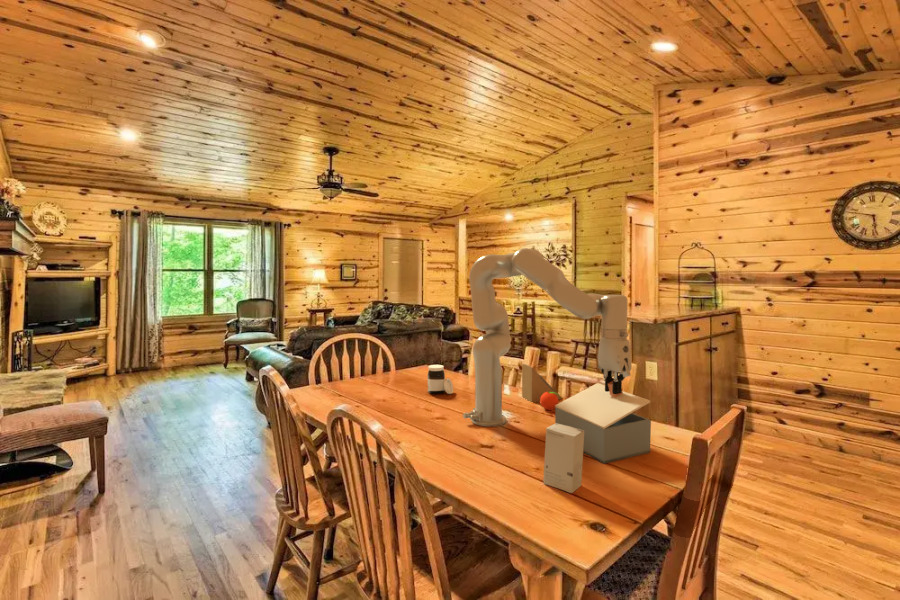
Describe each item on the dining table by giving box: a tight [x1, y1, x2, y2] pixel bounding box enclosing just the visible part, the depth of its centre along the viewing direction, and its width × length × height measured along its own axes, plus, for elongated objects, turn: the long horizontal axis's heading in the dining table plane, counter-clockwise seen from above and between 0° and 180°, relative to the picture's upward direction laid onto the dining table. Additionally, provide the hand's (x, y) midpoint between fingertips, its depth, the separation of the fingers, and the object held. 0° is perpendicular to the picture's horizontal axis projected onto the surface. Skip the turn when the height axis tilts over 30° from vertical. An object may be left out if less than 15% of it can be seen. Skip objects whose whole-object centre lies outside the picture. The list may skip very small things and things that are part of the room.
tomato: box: [539, 392, 559, 411], centre depth 176 cm, size 8×7×7 cm
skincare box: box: [543, 423, 584, 494], centre depth 116 cm, size 8×6×15 cm
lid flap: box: [555, 380, 651, 429], centre depth 140 cm, size 18×22×5 cm
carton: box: [554, 407, 652, 465], centre depth 141 cm, size 18×22×10 cm
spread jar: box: [427, 364, 454, 395], centre depth 202 cm, size 12×11×12 cm
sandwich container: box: [521, 363, 564, 403], centre depth 191 cm, size 9×15×15 cm, turn 110°
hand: (613, 391), depth 143 cm, fingers closed on lid flap, 2 cm apart
